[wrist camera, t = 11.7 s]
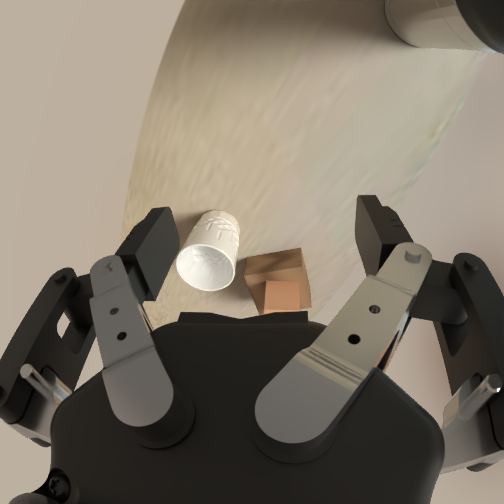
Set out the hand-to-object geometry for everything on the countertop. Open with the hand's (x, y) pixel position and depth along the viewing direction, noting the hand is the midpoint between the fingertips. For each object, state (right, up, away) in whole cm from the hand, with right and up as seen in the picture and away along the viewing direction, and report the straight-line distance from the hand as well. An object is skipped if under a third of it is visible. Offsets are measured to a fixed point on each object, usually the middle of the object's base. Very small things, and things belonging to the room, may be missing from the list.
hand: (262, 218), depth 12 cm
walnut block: (+4, -5, +39) cm, 39 cm away
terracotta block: (+4, -8, +35) cm, 36 cm away
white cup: (-6, +2, +34) cm, 35 cm away
